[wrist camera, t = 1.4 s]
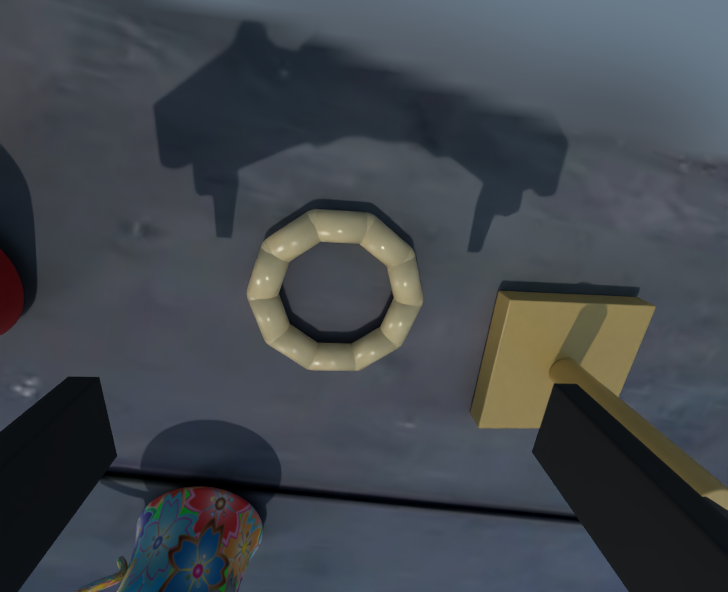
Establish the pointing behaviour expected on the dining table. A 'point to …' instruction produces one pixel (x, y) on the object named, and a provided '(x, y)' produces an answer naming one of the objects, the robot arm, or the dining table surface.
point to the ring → (340, 230)
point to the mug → (189, 544)
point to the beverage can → (9, 294)
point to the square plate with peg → (572, 367)
